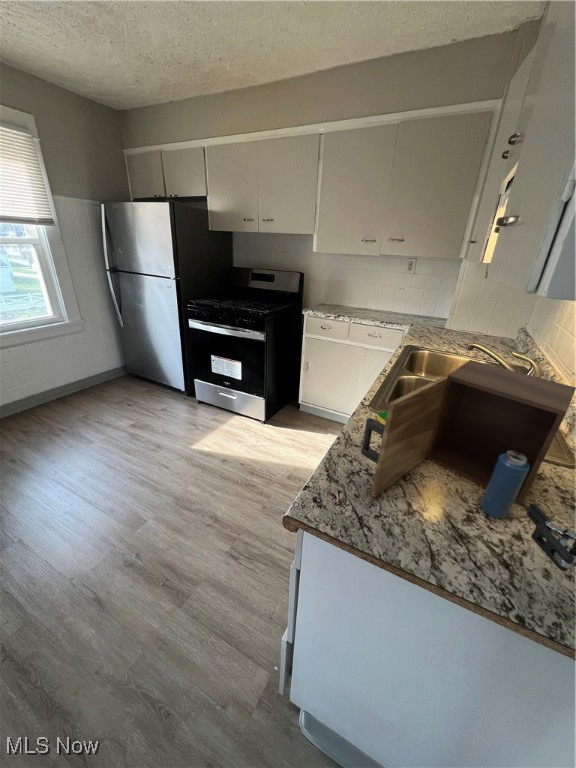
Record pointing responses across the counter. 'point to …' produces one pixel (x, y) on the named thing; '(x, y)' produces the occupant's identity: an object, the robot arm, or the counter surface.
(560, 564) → the robot arm
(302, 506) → the counter surface
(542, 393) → the cupboard
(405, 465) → the cupboard door
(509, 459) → the water bottle
